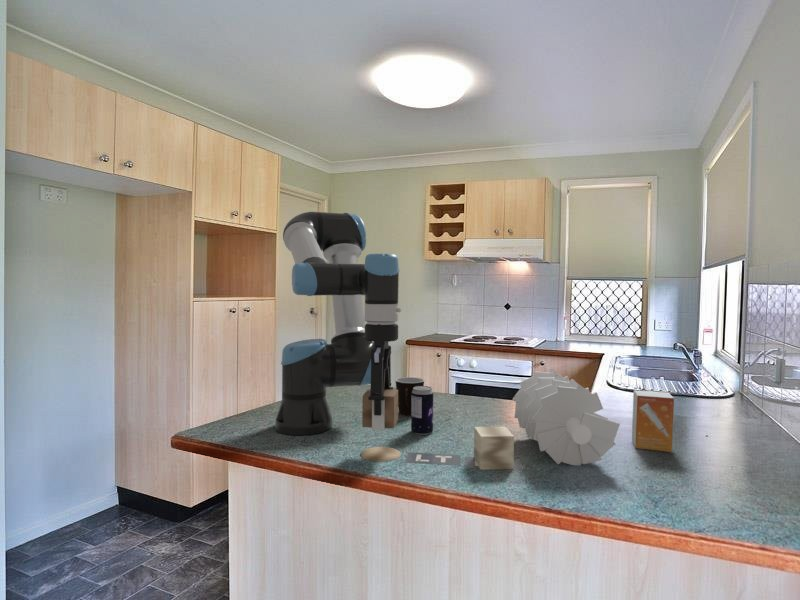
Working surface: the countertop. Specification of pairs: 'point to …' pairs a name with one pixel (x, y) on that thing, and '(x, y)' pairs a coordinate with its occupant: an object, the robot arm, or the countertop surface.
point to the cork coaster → (380, 454)
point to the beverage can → (422, 410)
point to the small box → (652, 420)
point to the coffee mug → (406, 393)
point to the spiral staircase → (564, 418)
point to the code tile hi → (472, 463)
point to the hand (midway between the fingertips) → (381, 424)
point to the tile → (433, 458)
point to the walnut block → (390, 408)
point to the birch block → (493, 448)
